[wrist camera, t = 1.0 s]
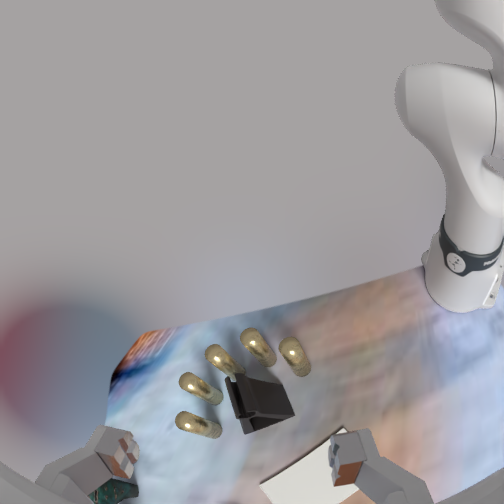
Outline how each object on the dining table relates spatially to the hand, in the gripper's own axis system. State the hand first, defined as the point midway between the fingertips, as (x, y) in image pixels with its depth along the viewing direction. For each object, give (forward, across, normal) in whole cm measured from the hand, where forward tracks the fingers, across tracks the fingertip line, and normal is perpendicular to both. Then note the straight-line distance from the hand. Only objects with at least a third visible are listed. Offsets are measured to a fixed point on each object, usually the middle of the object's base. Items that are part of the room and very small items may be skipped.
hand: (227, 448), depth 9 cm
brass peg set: (+32, +3, +24) cm, 40 cm away
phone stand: (+28, 0, +26) cm, 38 cm away
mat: (+15, -8, +31) cm, 36 cm away
